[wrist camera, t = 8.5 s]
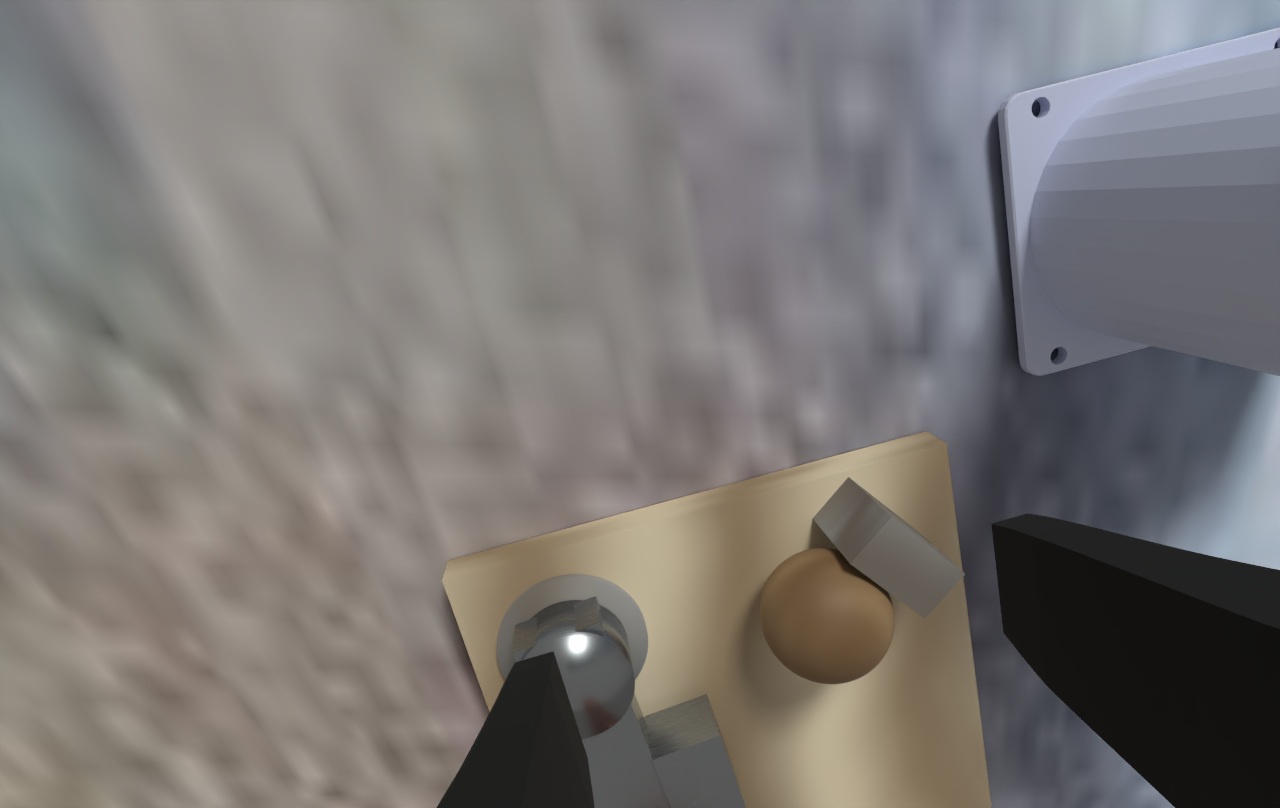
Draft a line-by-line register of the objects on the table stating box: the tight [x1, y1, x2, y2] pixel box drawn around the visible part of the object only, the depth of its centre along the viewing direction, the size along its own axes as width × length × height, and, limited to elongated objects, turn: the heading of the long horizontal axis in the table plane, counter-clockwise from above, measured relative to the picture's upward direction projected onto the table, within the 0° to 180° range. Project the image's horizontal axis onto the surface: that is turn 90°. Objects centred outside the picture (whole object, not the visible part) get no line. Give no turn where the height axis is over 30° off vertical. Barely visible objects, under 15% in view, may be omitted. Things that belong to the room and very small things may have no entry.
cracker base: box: [442, 431, 992, 808], centre depth 22 cm, size 15×15×5 cm
